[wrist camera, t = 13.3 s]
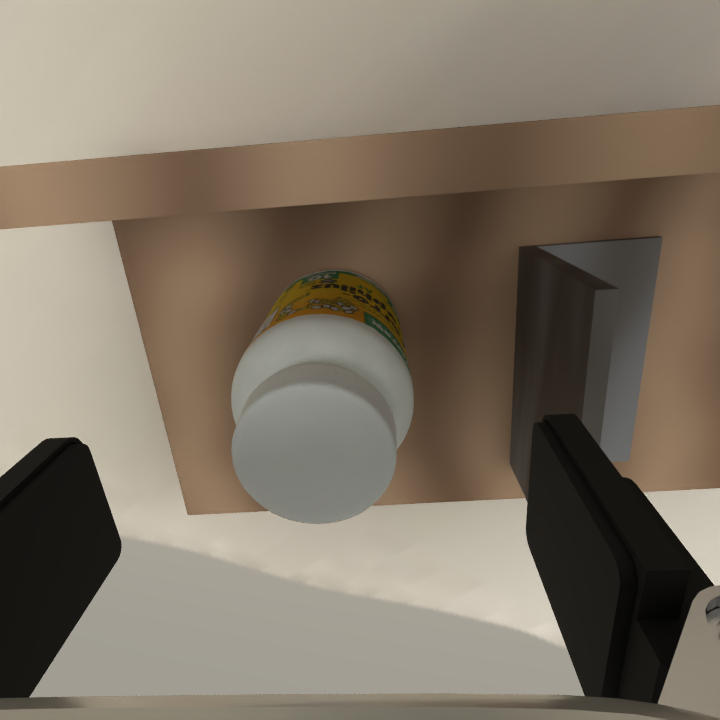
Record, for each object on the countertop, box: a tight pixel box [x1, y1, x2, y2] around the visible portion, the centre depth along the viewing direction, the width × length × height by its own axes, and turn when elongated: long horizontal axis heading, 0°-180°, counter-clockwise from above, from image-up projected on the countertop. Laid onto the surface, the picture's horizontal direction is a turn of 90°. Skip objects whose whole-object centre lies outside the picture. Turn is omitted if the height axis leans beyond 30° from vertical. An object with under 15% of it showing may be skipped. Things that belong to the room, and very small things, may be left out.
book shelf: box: [0, 105, 720, 515], centre depth 17 cm, size 26×16×10 cm, turn 94°
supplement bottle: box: [231, 269, 414, 524], centre depth 16 cm, size 5×5×10 cm
